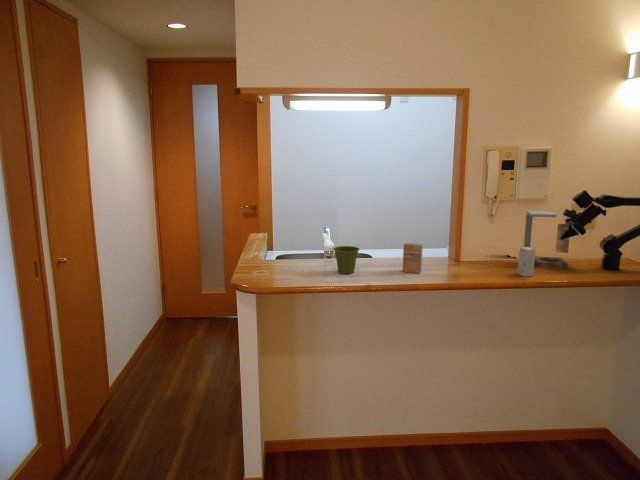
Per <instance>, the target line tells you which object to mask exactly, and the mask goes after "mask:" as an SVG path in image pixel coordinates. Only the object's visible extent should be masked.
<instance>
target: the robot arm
mask: <svg viewBox="0 0 640 480" xmlns="http://www.w3.org/2000/svg"><path fill="white" fill-rule="evenodd" d="M571 200H572V201H573V203H575V205H576V206H578V208H580V209H584V210H583V211H581V212H580V211H579V212H578V213H577V211H576V210H575V209H571V210H570V209H568V208H565V210H564V211H563V213H562V215H563V216H564V217H566V218H565V219H564V224H569V227H568V230H567V231H566V232H565V233H564V234H563V235H562V236H561V237H560V239H561V240H563V239H566V238H569V239H570V238H572V237H576V236H580V235H581V236H583V235H584V234H586V232H587V229H586V228H585V227H586V226H587V225H588V224H592V223H593V220H595V219H596V218H598V217H599V216H600V215H602V216H604V217H606V216H607V211H608V210H607V209H611V208H617V207H623V206H626V207H627V206H628V207H640V196H639V197H637V196H636V197H628V196H623V197H622V196H617V195H613V194H612V195H611V194H601V195H600V196H597V197H592V196H591V195H590V194H589V192H588V191H587V190H586V189H584V190H582V191H581V192H579V193H577V194H575V195H574V196H573V197H572V199H571ZM596 204H597V205H596ZM602 207H603V208H605V209H603V208H602ZM606 208H607V209H606ZM639 236H640V224H638V225H636V226H633V227H632V228H630V229H627V230H626V231H624V232H622V233H620V234H618V235H614V234H612V233H611V234H608V235H607V236H606V237H602V240H600V242H599V248H600V250H601V251H603V255H602V257H601V263H600V267H601V268H603V269H604V270H608V271H609V270H611V271H613V270H614V271H621V268H620V267H621V266H620V265H621V258H622V256H623V252H622V251H621V250H620V249H621V248H622V247H623V246H624V245H625V244H627V243H628V242H630V241H633V240H634V239H636V238H639Z"/></svg>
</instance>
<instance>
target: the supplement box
mask: <svg viewBox="0 0 640 480" xmlns="http://www.w3.org/2000/svg"><path fill="white" fill-rule="evenodd" d="M423 247H424V243H411V242H410V243H409V242H404V243H403V252H402V255H403V256H402V272H403V273H413V274H421V272H422V269H423V268H422V267H423V250H424V249H423Z"/></svg>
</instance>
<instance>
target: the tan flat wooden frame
mask: <svg viewBox="0 0 640 480" xmlns="http://www.w3.org/2000/svg"><path fill="white" fill-rule="evenodd" d="M534 268H536V269H553V270H568V271H569V270H570V271H571V270H573V271H574V270H575V268H574V267H572V266H571V265H570V264H569V263H568V262H567V261H566V260H565V259H564V258H563V257H559V256H557V257H556V256H540V255H539V256H538V255H535V261H534Z"/></svg>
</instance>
